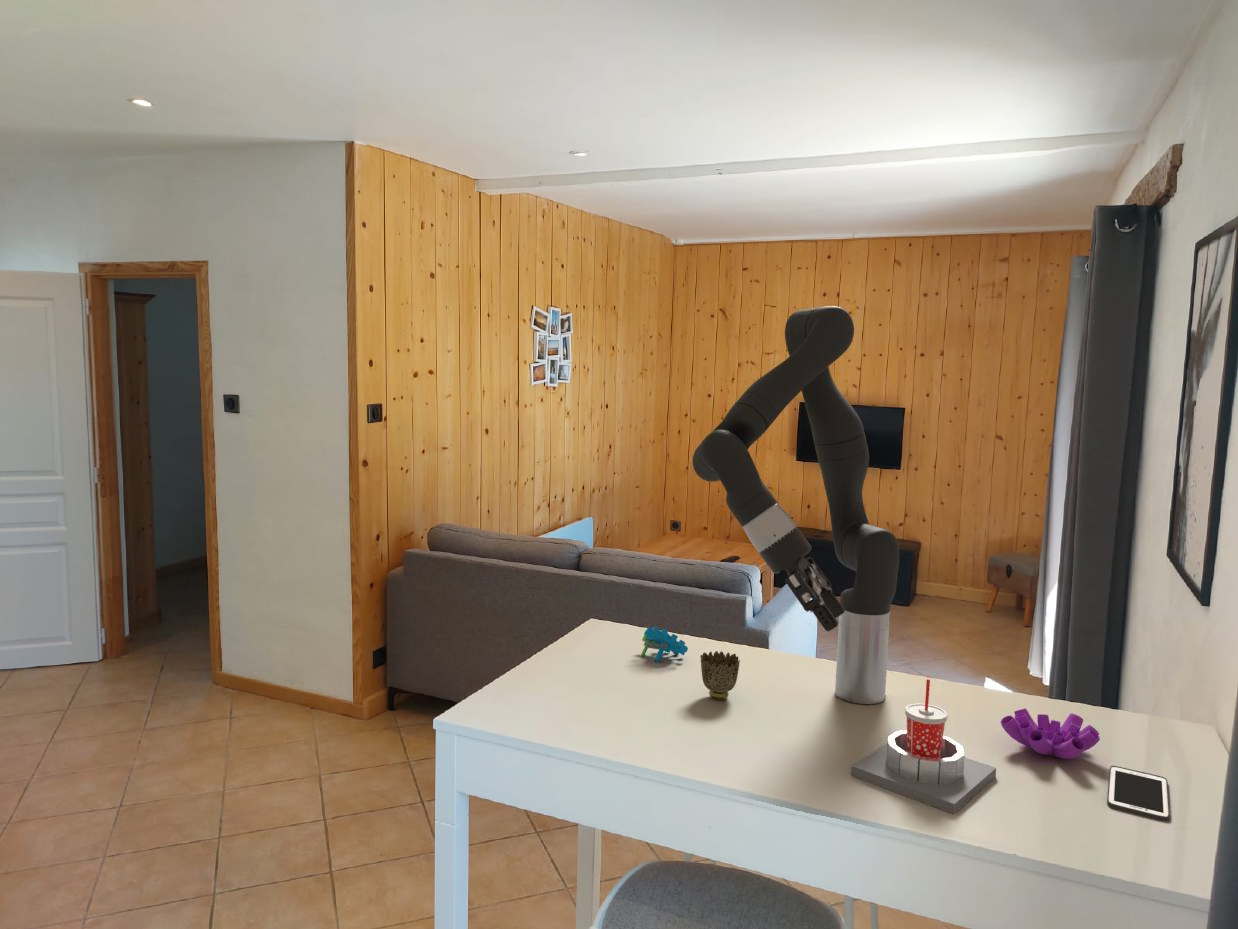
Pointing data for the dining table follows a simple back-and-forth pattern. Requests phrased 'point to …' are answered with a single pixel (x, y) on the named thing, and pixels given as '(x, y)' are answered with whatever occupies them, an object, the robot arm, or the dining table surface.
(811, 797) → the dining table surface
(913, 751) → the beverage cup
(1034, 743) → the purple tube coral
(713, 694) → the cup
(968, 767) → the flange board
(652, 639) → the blue toy figure
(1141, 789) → the cell phone
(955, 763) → the collar
